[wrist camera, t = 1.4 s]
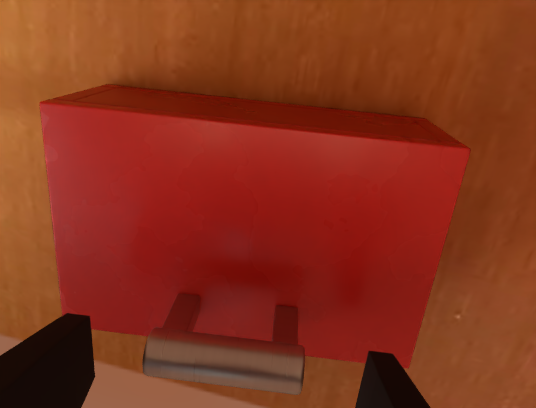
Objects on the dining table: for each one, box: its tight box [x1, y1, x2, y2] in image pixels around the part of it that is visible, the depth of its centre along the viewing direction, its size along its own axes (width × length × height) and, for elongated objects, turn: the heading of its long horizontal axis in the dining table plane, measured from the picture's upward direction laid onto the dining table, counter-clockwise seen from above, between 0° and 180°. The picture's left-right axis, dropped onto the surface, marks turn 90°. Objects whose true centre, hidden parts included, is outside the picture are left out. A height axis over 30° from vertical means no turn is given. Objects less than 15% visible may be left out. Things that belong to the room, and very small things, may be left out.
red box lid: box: [40, 99, 471, 395], centre depth 11 cm, size 7×11×3 cm, turn 85°
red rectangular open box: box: [52, 84, 462, 144], centre depth 14 cm, size 7×11×4 cm, turn 85°
